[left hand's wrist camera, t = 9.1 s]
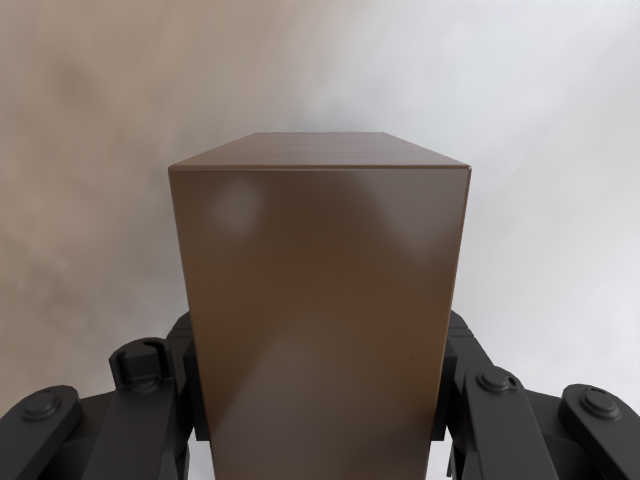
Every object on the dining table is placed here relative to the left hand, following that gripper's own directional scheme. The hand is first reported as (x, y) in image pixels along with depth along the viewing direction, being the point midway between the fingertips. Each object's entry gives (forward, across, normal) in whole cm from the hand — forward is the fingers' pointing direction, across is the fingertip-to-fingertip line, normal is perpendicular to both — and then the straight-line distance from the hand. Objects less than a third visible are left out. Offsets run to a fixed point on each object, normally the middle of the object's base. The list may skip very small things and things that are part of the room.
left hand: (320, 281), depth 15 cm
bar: (+1, 0, -27) cm, 27 cm away
